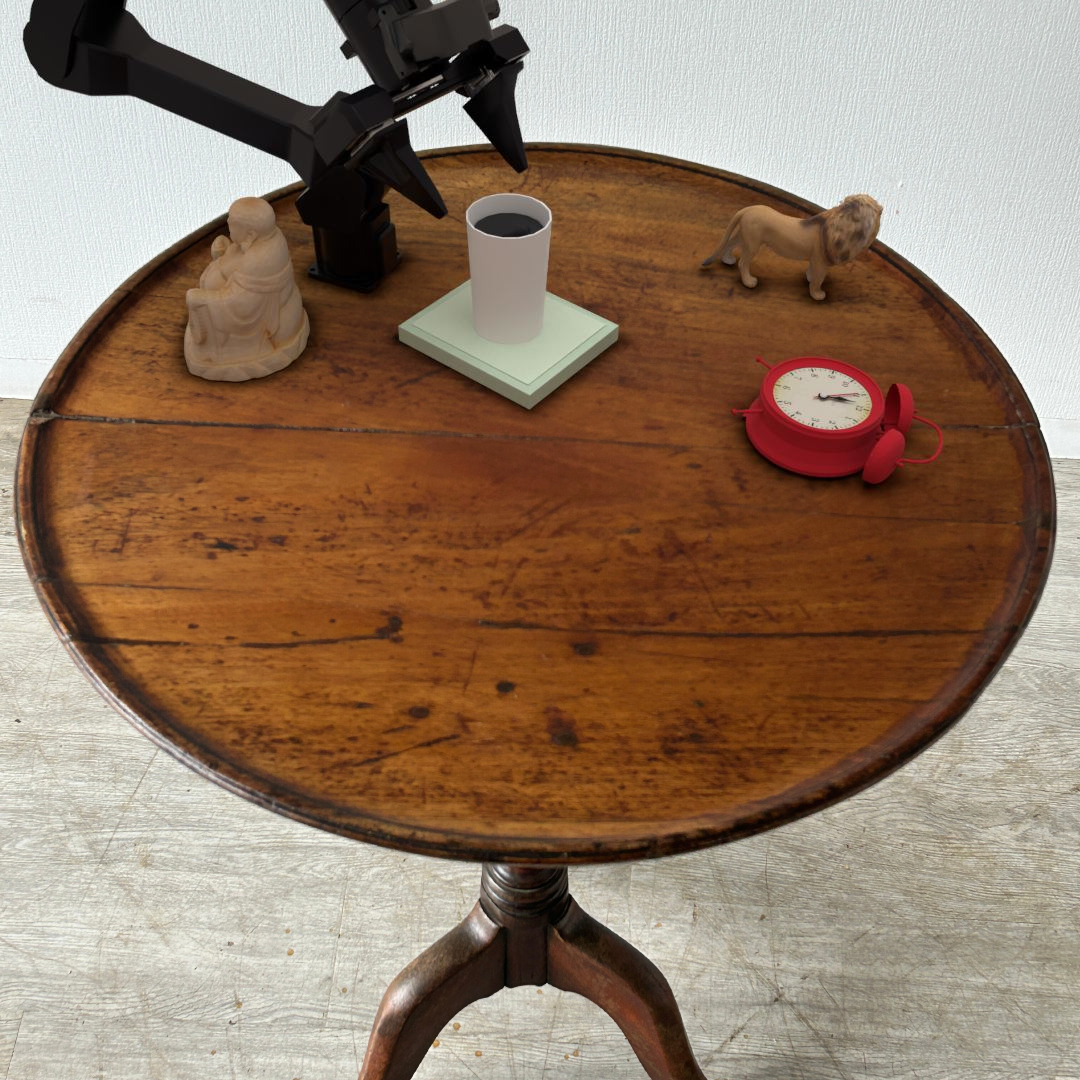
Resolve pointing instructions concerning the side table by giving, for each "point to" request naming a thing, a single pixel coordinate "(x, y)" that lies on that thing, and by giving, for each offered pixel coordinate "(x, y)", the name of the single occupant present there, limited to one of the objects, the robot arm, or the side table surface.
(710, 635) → the side table surface
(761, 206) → the lion figurine
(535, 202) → the white cup
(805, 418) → the alarm clock
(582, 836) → the side table surface
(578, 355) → the board
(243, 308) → the statue
